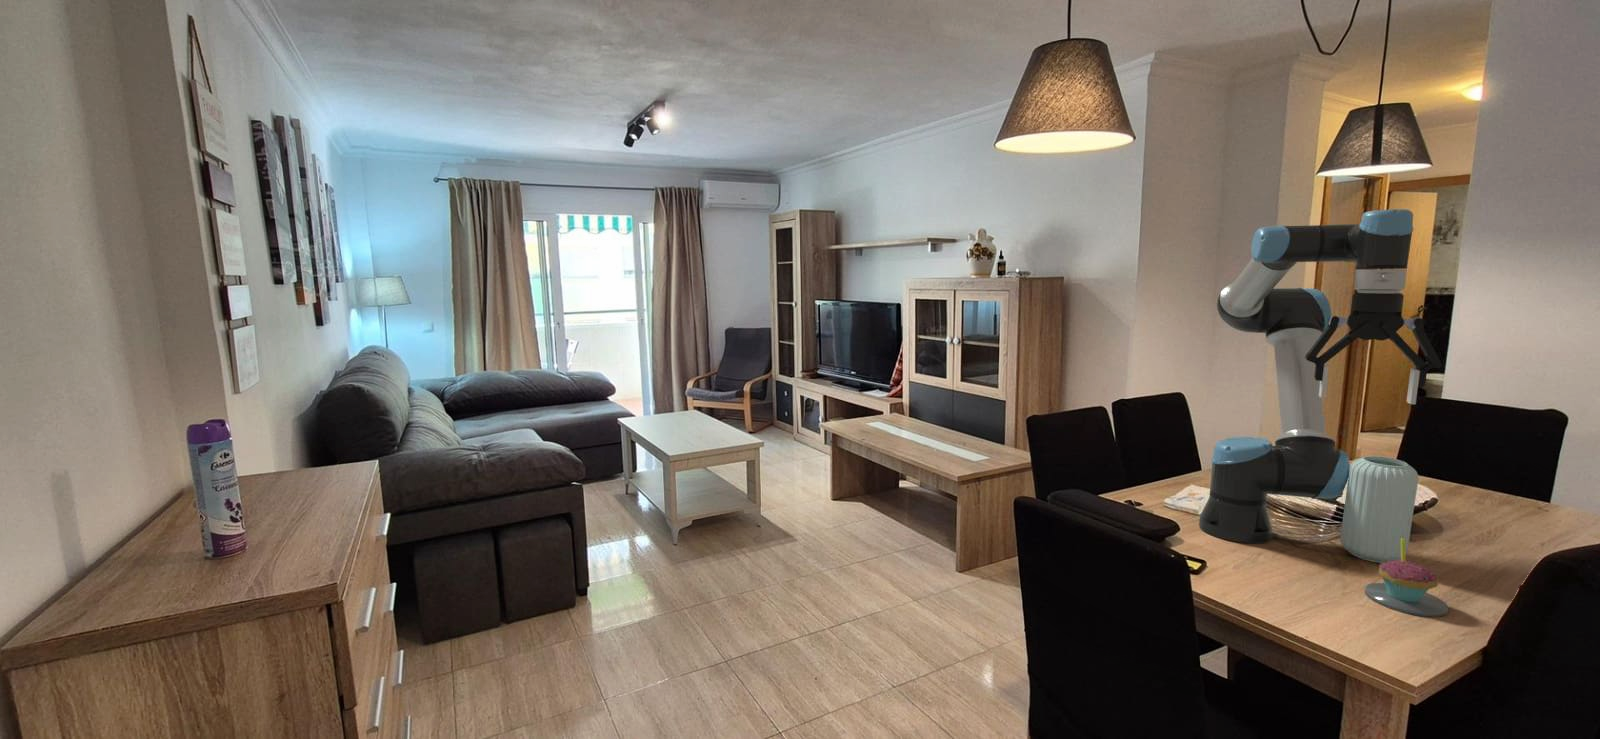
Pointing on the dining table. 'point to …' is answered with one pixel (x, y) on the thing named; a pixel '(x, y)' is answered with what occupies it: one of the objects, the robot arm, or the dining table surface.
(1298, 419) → the robot arm
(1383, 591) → the coaster
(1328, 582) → the dining table surface
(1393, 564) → the cupcake
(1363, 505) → the vase
